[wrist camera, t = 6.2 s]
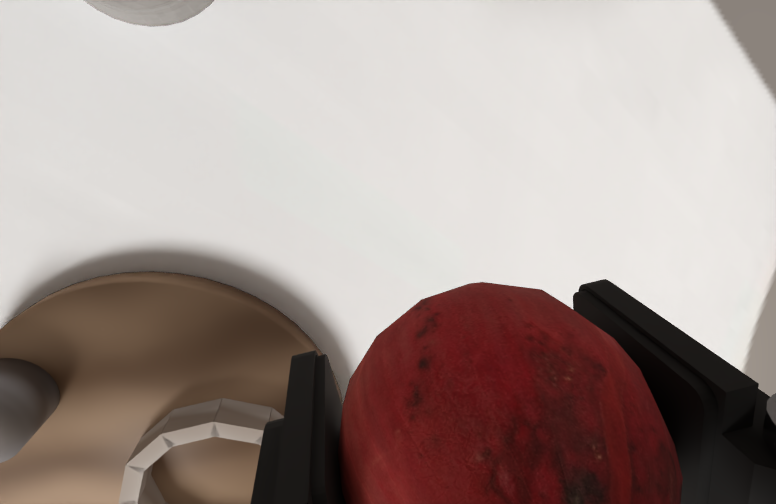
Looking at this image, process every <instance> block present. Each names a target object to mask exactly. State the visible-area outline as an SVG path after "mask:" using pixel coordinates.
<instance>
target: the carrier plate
mask: <svg viewBox="0 0 776 504" xmlns="http://www.w3.org/2000/svg"><path fill="white" fill-rule="evenodd" d="M314 350H316V351H317V353H318V356H320V355H323V354H322V353H321V352H320V350H319V349H318V348H317V346H316V345H315V344H314V343H313V341H312V340H311V339H310V338H309V337H308V336H307V335H306V334H305V333H304V332H303V331H302V330H301V329H300V328H299V327H298V326H297V325H296V324H295V323H294V322H293V321H291V320H290V319H289V318H287V317H286V316H285V315H283V314H282V313H281V312H279V311H278V310H277V309H275V308H274V307H272V306H270V305H268V304H267V303H265V302H263V301H262V300H260V299H258V298H256V297H255V296H252V295H250V294H248V293H245V292H243V291H241V290H239V289H236V288H234V287H232V286H229V285H225V284H222V283H219V282H216V281H212V280H209V279H206V278H200V277H195V276H190V275H184V274H178V273H164V272H130V273H120V274H114V275H108V276H101V277H97V278H93V279H90V280H86V281H83V282H79V283H76V284H73V285H71V286H68V287H66V288H64V289H61V290H59V291H57V292H55V293H52V294H50V295H48V296H47V297H45V298H44V299H42V300H40V301H39V302H37V303H36V304H34V305H32V306H31V307H29V308H28V309H26V310H25V311H24V312H22V313H21V314H19V315H18V316H17V317H15V318H14V319H12V320H11V321H10V322H9V323H7V324H6V325H5V326H4V327H3V328H2V329H0V504H250V503H251V498H252V492H253V487H254V481H255V476H256V470H257V465H258V459H259V454H260V448H261V442H262V437H263V431H264V428H265V424H266V423H267V422H270V421H273V420H277V419H281V418H284V412H285V404H286V396H287V388H288V380H289V372H290V364H291V358H292V356H294V355H298V354H302V353H306V352H310V351H314ZM332 374H333V371H332ZM333 377H334V380H335V384H336V387H337V390H338V394H339V397H340V400H341V404H342V407H343V403H342V398H341V393H340V389H339V387H338V384H337V381H336V379H335V376H334V374H333Z"/></svg>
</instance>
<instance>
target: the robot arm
mask: <svg viewBox="0 0 776 504" xmlns="http://www.w3.org/2000/svg"><path fill="white" fill-rule="evenodd" d="M573 308H574V311H576V312H577V313H578V314H580V315H581V316H583V317H584V318H586V319H587V320H588V321H590V322H591V323H593V324H594V325H596V326H597V327H598V328H600V329H601V330H603V331H604V332H606V333H607V334H608V335H610V336H611V337H613V338H614V339H615V340H616V341H617V342H618V344H619V345H620V346H621V347H622V348H623V349H624V351H625V352H626V353H627V354H628V355H629V357H630V358H631V359H632V360H633V361H634V362H635V364H636V365H637V366H638V367H639V368H640V370H641V372H642V374H643V377H644V379H645V381H646V383H647V385H648V387H649V389H650V391H651V393H652V395H653V398H654V400H655V402H656V404H657V406H658V408H659V411H660V413H661V415H662V417H663V419H664V422H665V424H666V426H667V428H668V431H669V433H670V435H671V437H672V440H673V442H674V444H675V448H676V452H677V456H678V460H679V464H680V469H681V473H682V477H683V481H682V493H681V504H776V394H773V395H772V396H771V397H769V396H768V395H767V394H765V393H764V392H762V391H761V390H759V389H758V383H757V382H755V381H754V380H752V379H751V378H749V377H748V376H747V375H745V374H744V373H742V372H741V371H739V370H738V369H736V368H735V367H734V366H732V365H731V364H729V363H728V362H726V361H725V360H723V359H722V358H720V357H719V356H718V355H716V354H715V353H713V352H712V351H710V350H709V349H707V348H706V347H704V346H703V345H702V344H700V343H699V342H697V341H696V340H694V339H693V338H691V337H690V336H688V335H687V334H686V333H684V332H683V331H681V330H680V329H678V328H677V327H675V326H674V325H672V324H671V323H670V322H668V321H667V320H665V319H664V318H662V317H661V316H659V315H658V314H656V313H655V312H654V311H652V310H651V309H649V308H648V307H646V306H645V305H643V304H642V303H641V302H639V301H638V300H636V299H635V298H633V297H632V296H630V295H629V294H627V293H626V292H625V291H623V290H622V289H620V288H619V287H617V286H616V285H614V284H613V283H611V282H610V281H608V280H606V279H605V280H599V281H595V282H591V283H587V284H583V285H581V286H580V288H579V292H576V293H575V294H574V296H573ZM342 409H343V407H342V404H341V400H340V397H339V394H338V390H337V387H336V384H335V380H334V377H333V374H332V370H331V367H330V364H329V360H328V357H327V355H326V354H324V355H320V356H318V353H317V351H316V350H314V351H310V352H306V353H302V354H298V355H294V356H292V358H291V364H290V372H289V380H288V388H287V396H286V404H285V412H284V418H281V419H277V420H273V421H270V422H267V423H266V424H265V428H264V431H263V437H262V442H261V448H260V454H259V459H258V465H257V470H256V476H255V481H254V487H253V492H252V498H251V503H250V504H346V502H345V499H344V496H343V493H342V487H341V480H340V470H339V459H338V446H339V437H340V428H341V418H342Z"/></svg>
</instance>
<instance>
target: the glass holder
mask: <svg viewBox="0 0 776 504" xmlns="http://www.w3.org/2000/svg"><path fill="white" fill-rule="evenodd" d="M84 1H85V2H87V3H88V4H90V5H91V6H92V7H94V8H95V9H97V10H99V11H101V12H103V13H105V14H107V15H109V16H111V17H113V18H115V19H118V20H121V21H124V22H128V23H131V24H136V25H143V26H167V25H171V24H175V23H179V22H183V21H185V20H187V19H189V18H191V17H193V16H195V15H197V14H199V13H200V12H201V11H203V10H204V9H205V8H206V7H208V6H209V5H210V4H211V3H212V2H213V1H214V0H84Z"/></svg>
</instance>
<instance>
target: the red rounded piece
mask: <svg viewBox="0 0 776 504" xmlns="http://www.w3.org/2000/svg"><path fill="white" fill-rule="evenodd" d="M338 459H339V470H340V480H341V487H342V493H343V496H344V499H345V502H346V504H681V493H682V481H683V477H682V473H681V469H680V464H679V460H678V456H677V452H676V448H675V444H674V442H673V440H672V437H671V435H670V433H669V431H668V428H667V426H666V424H665V422H664V419H663V417H662V415H661V413H660V411H659V408H658V406H657V404H656V402H655V400H654V398H653V395H652V393H651V391H650V389H649V387H648V385H647V383H646V381H645V379H644V377H643V374H642V372H641V370H640V368H639V367H638V366H637V365H636V364H635V362H634V361H633V360H632V359H631V358H630V357H629V355H628V354H627V353H626V352H625V351H624V349H623V348H622V347H621V346H620V345H619V344H618V342H617V341H616V340H615V339H614V338H613V337H611V336H610V335H608V334H607V333H606V332H604V331H603V330H601V329H600V328H598V327H597V326H596V325H594V324H593V323H591V322H590V321H588V320H587V319H586V318H584V317H583V316H581V315H580V314H578V313H577V312H576V311H574V310H573V309H571V308H570V307H568V306H567V305H565V304H564V303H562V302H560V301H559V300H557V299H556V298H554V297H553V296H551V295H549V294H548V293H546V292H545V291H543V290H540V289H532V288H524V287H516V286H508V285H500V284H492V283H485V282H480V283H471V284H467V285H464V286H461V287H458V288H455V289H452V290H449V291H446V292H443V293H440V294H437V295H434V296H431V297H428V298H425V299H422V300H421V301H419V302H418V303H417V304H416V305H414V306H413V307H412V308H411V309H410V310H408V311H407V312H406V313H405V314H403V315H402V316H401V317H400V318H399V319H397V320H396V321H395V322H394V323H392V324H391V325H390V326H389V327H388V328H386V329H385V330H384V331H383V332H381V333H380V334H379V335H378V336H377V337H376V338H375V340H374V342H373V343H372V345H371V346H370V348H369V350H368V351H367V353H366V354H365V356H364V358H363V359H362V361H361V363H360V364H359V366H358V367H357V369H356V371H355V372H354V374H353V375H352V377H351V379H350V381H349V385H348V388H347V392H346V396H345V400H344V403H343V409H342V418H341V428H340V437H339V446H338Z"/></svg>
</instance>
